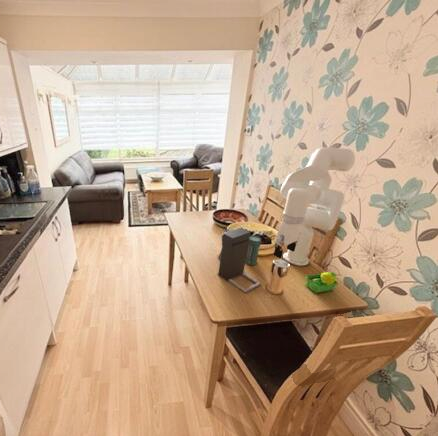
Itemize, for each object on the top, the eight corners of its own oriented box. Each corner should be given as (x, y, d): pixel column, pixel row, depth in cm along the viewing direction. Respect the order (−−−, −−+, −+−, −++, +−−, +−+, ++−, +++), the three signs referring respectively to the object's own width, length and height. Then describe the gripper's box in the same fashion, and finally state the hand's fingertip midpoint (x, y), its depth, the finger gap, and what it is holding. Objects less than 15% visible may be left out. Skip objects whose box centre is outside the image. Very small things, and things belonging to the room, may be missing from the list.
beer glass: (284, 295, 109) (292, 268, 103) (268, 293, 110) (275, 266, 104) (279, 285, 115) (287, 259, 109) (264, 284, 116) (270, 258, 110)
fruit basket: (321, 281, 118) (328, 262, 113) (338, 293, 110) (346, 273, 105) (302, 284, 116) (308, 265, 111) (317, 297, 108) (325, 277, 103)
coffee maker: (233, 267, 129) (240, 227, 120) (261, 284, 116) (271, 241, 107) (217, 274, 123) (223, 233, 114) (244, 293, 110) (253, 248, 101)
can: (258, 263, 132) (263, 240, 126) (249, 265, 130) (254, 242, 124) (250, 258, 137) (255, 235, 131) (241, 260, 135) (246, 236, 129)
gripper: (295, 210, 105) (287, 244, 112) (271, 219, 97) (264, 255, 104) (314, 216, 99) (303, 251, 106) (289, 226, 91) (280, 263, 98)
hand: (283, 253), depth 105 cm, fingers open, 9 cm apart
